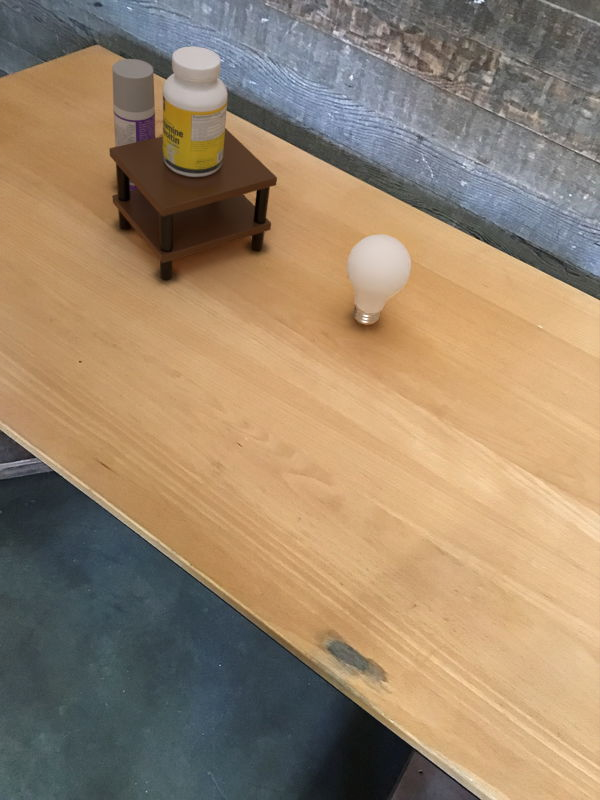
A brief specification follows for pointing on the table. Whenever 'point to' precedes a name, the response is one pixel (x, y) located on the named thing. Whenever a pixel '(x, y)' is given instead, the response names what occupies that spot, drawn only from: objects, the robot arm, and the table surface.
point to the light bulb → (376, 274)
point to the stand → (190, 200)
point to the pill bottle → (194, 113)
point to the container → (133, 102)
